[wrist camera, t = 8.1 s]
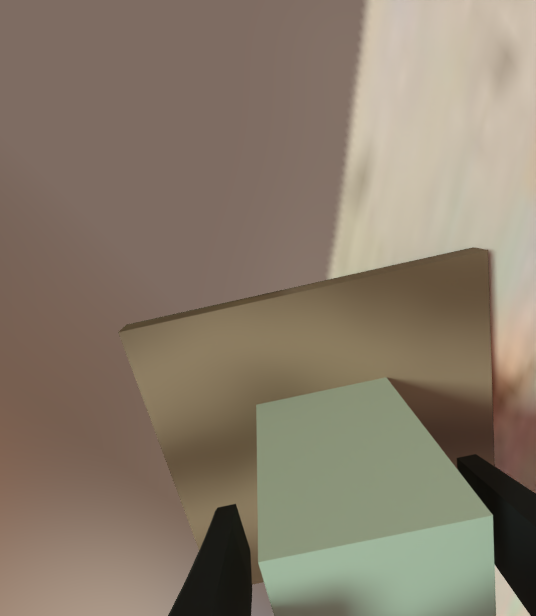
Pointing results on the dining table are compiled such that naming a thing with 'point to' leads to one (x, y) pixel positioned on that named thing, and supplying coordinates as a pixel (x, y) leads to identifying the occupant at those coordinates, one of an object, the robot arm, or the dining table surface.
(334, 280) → the walnut base board
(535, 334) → the dining table surface
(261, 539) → the sage block
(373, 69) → the dining table surface
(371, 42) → the dining table surface
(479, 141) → the dining table surface
